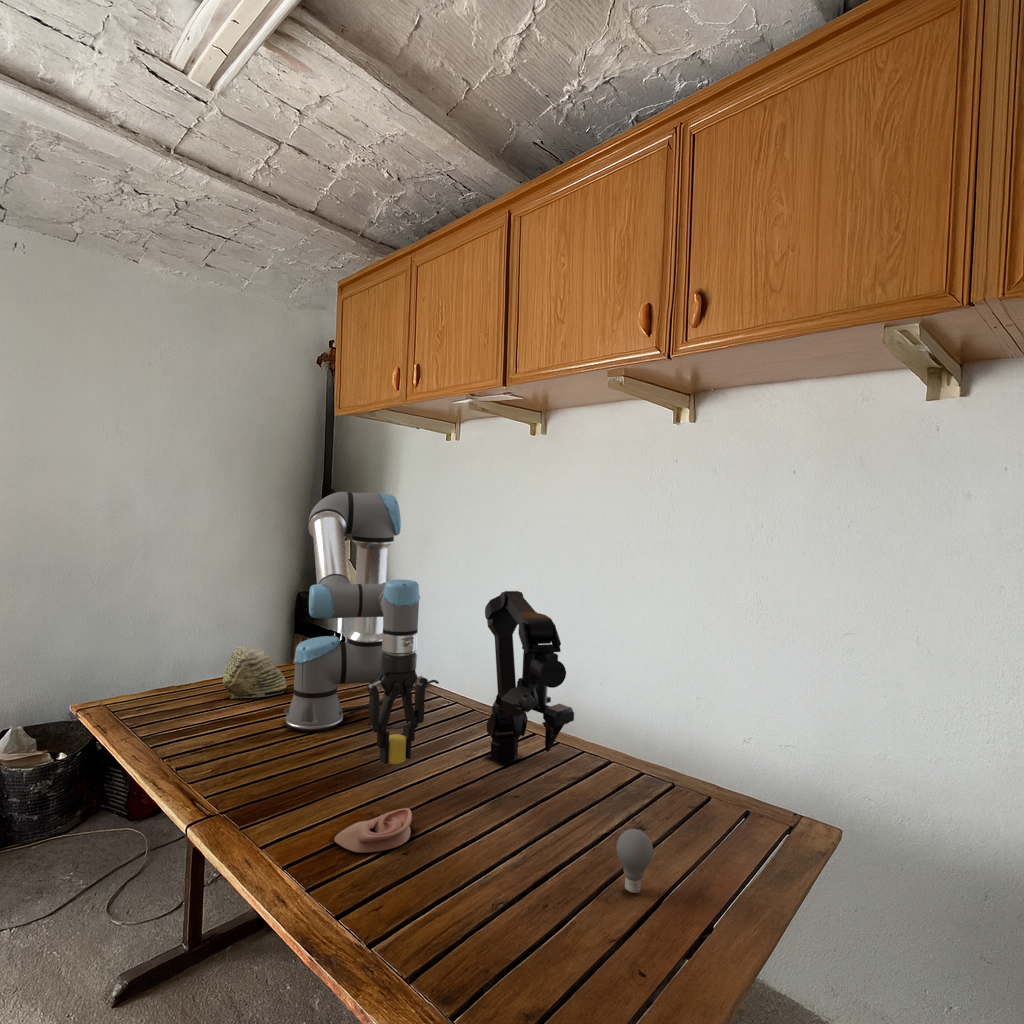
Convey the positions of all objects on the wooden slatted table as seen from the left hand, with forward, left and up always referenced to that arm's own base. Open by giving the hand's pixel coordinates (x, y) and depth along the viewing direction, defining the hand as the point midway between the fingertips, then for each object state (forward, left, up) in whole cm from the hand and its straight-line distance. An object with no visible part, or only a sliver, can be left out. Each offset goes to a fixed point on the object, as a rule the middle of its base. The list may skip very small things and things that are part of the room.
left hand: (395, 758), depth 137 cm
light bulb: (-4, +56, -7) cm, 56 cm away
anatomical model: (+15, +12, -7) cm, 20 cm away
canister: (0, 0, 0) cm, 0 cm away
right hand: (-21, +21, +3) cm, 30 cm away
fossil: (-13, -81, -7) cm, 82 cm away
